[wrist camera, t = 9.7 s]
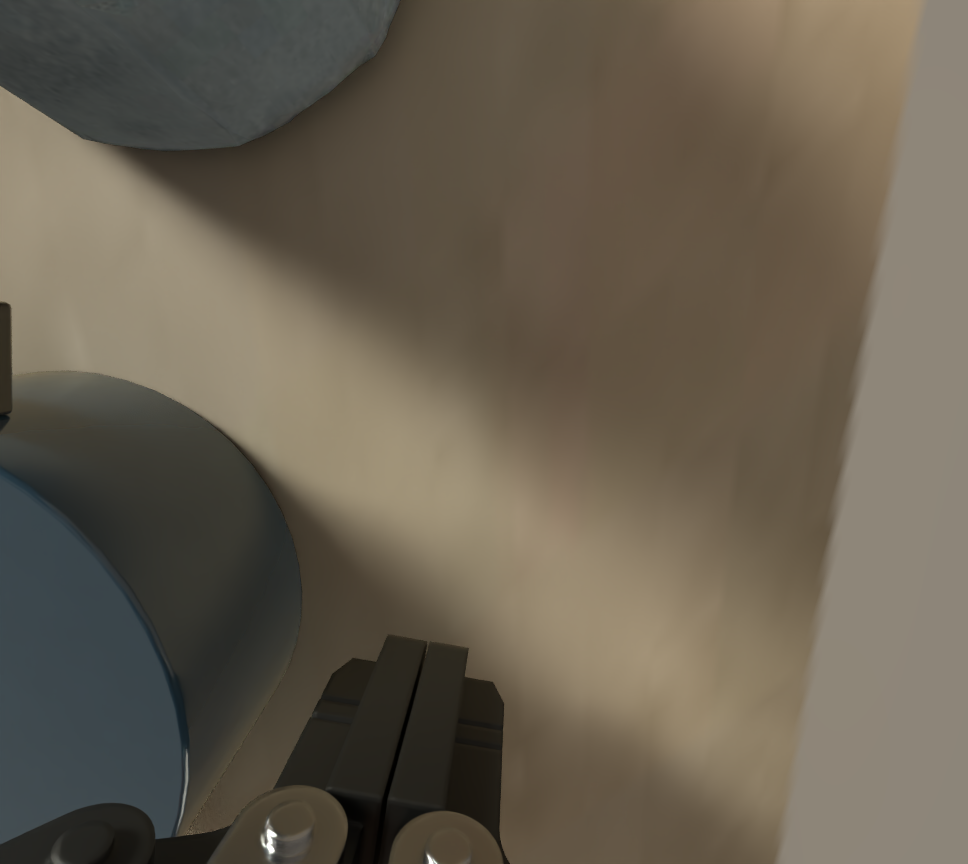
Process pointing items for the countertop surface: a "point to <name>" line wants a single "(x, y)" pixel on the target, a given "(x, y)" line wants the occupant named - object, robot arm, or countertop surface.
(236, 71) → the moka pot
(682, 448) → the countertop surface
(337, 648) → the countertop surface
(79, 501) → the pot
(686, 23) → the countertop surface
